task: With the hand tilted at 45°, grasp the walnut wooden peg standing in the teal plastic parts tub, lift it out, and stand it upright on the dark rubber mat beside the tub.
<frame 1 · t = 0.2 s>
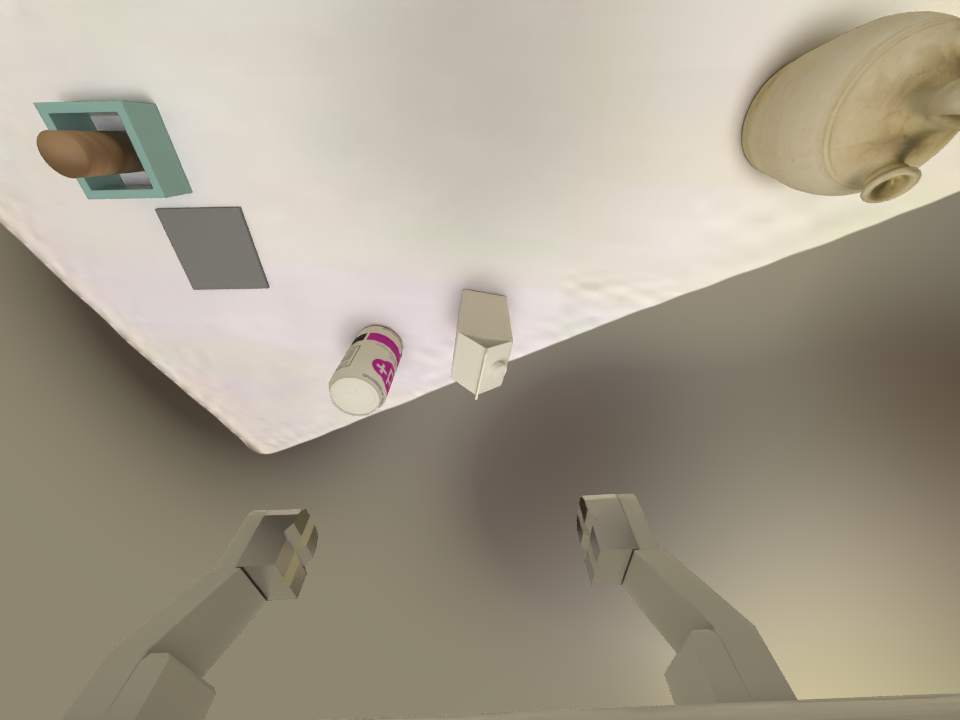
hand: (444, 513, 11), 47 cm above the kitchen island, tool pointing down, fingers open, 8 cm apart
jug: (791, 118, 45), on the kitchen island
walnut peg: (103, 153, 42), in the tub
milk carton: (480, 311, 59), on the kitchen island
tub: (137, 151, 46), on the kitchen island
supplement can: (380, 344, 62), on the kitchen island
mat: (216, 250, 53), on the kitchen island
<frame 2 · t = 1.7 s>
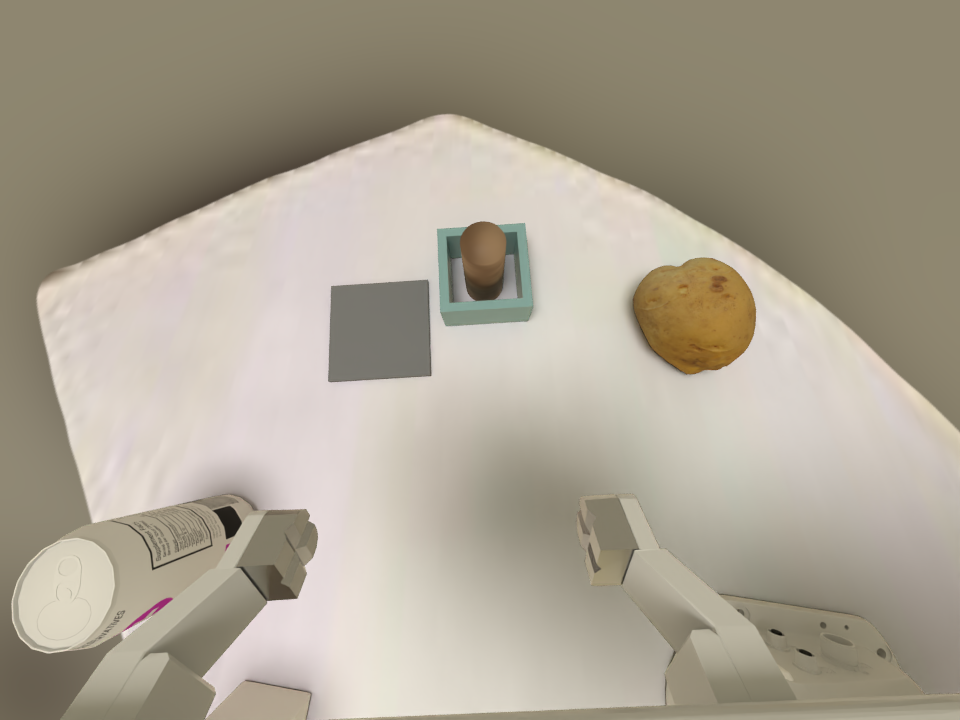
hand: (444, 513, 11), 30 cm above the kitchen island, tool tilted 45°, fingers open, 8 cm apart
walnut peg: (483, 266, 39), in the tub
tub: (484, 285, 44), on the kitchen island
supplement can: (227, 532, 39), on the kitchen island
mat: (380, 330, 43), on the kitchen island
potato: (670, 328, 42), on the kitchen island
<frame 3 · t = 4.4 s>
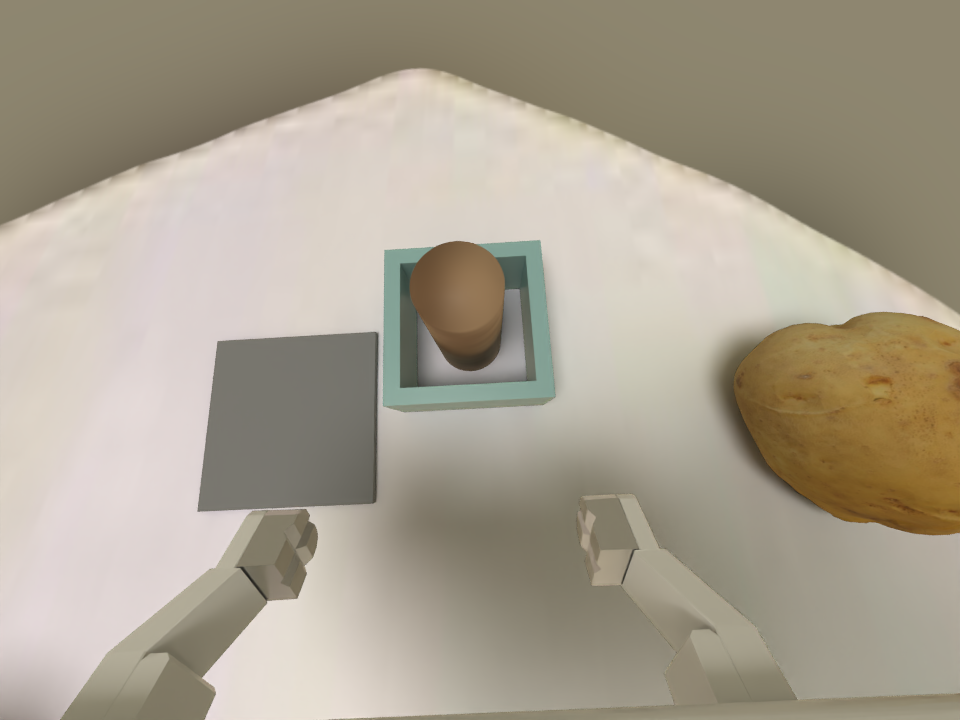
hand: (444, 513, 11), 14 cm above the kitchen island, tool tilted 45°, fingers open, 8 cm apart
walnut peg: (465, 319, 21), in the tub
tub: (470, 341, 26), on the kitchen island
mat: (294, 418, 25), on the kitchen island
potato: (789, 421, 24), on the kitchen island
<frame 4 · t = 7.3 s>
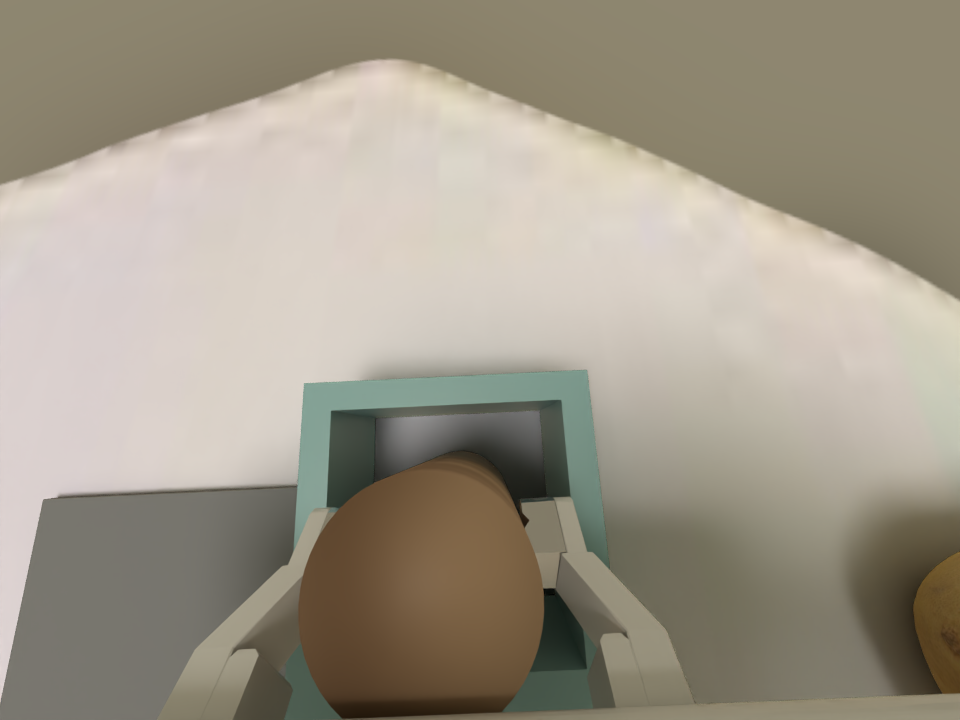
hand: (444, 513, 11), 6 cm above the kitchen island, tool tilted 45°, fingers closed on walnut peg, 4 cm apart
walnut peg: (448, 529, 11), in the tub, touching gripper
tub: (460, 501, 16), on the kitchen island
mat: (163, 638, 15), on the kitchen island
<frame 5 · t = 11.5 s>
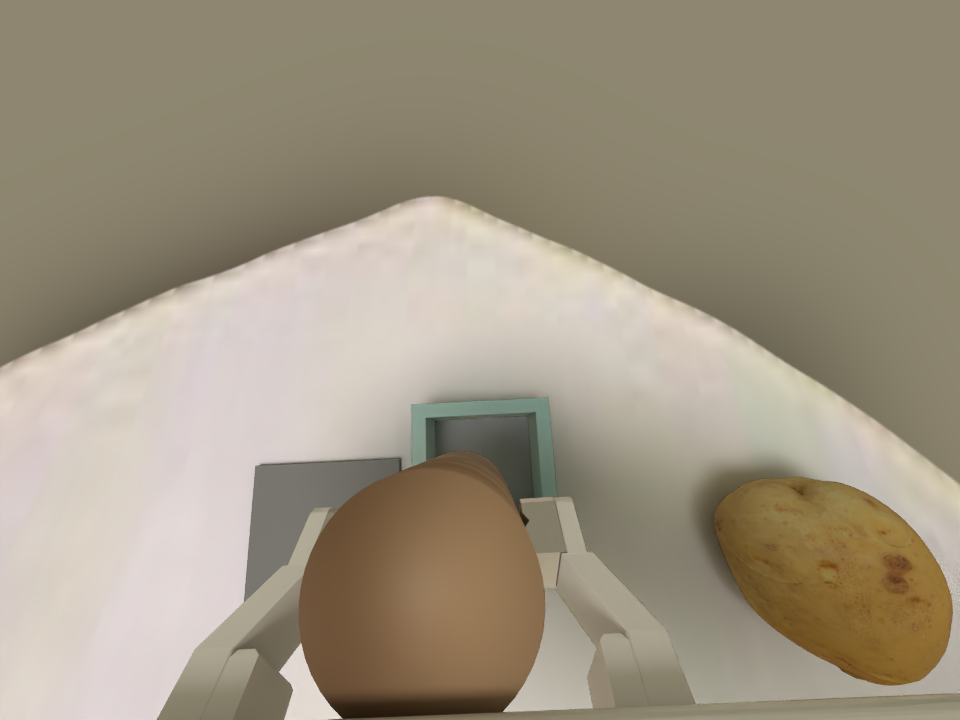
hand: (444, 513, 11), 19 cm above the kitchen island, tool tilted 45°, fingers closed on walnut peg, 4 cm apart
walnut peg: (449, 528, 11), point 18 cm above the kitchen island, touching gripper
tub: (483, 466, 29), on the kitchen island
mat: (326, 538, 28), on the kitchen island
potato: (762, 543, 28), on the kitchen island
when the fingers open (8 cm above the kitchen island, at t = 15.8 s): walnut peg drops 1 cm, resting on mat.
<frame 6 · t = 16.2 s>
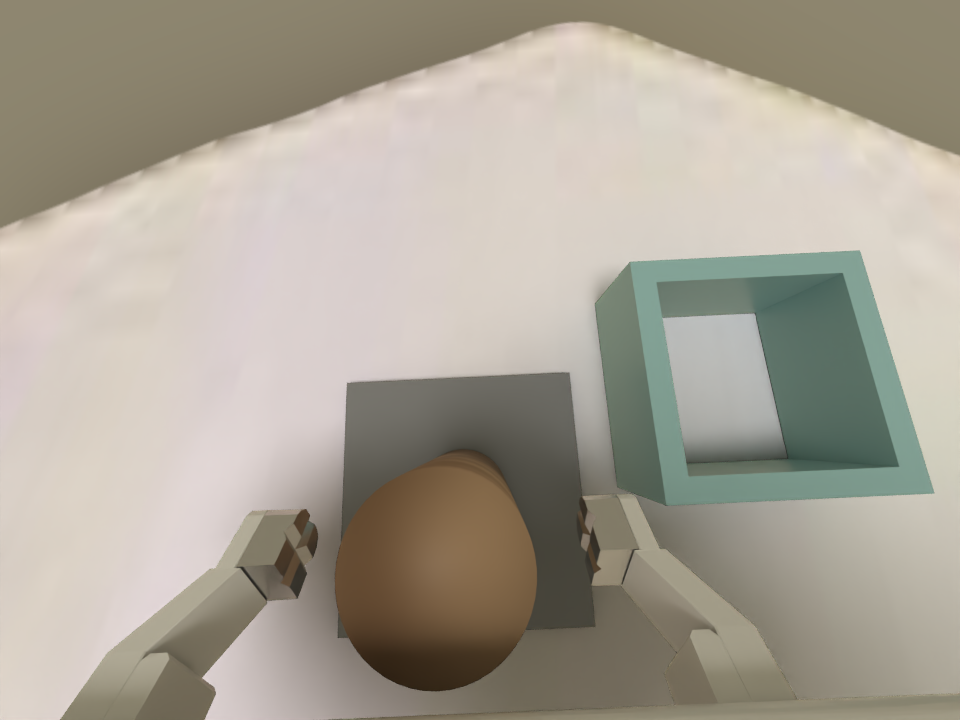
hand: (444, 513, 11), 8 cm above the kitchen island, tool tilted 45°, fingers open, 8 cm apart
walnut peg: (454, 519, 13), on the mat
tub: (697, 386, 19), on the kitchen island
mat: (462, 494, 18), on the kitchen island
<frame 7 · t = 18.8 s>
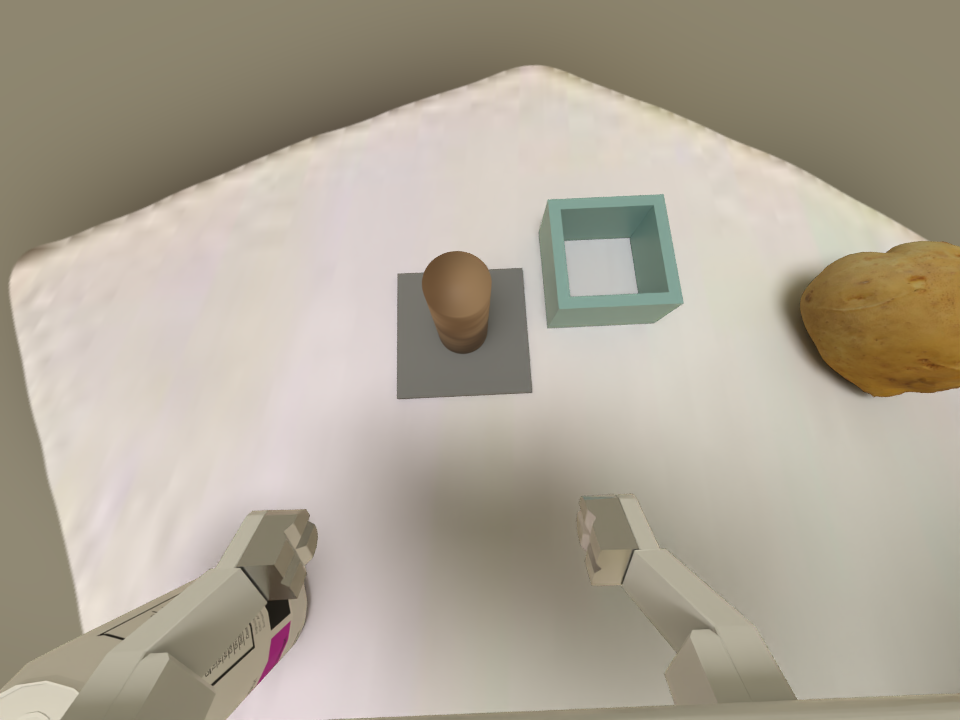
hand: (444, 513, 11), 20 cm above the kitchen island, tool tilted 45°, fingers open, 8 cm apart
walnut peg: (460, 310, 27), on the mat
tub: (594, 276, 34), on the kitchen island
supplement can: (261, 604, 28), on the kitchen island
mat: (462, 332, 33), on the kitchen island
potato: (836, 335, 33), on the kitchen island
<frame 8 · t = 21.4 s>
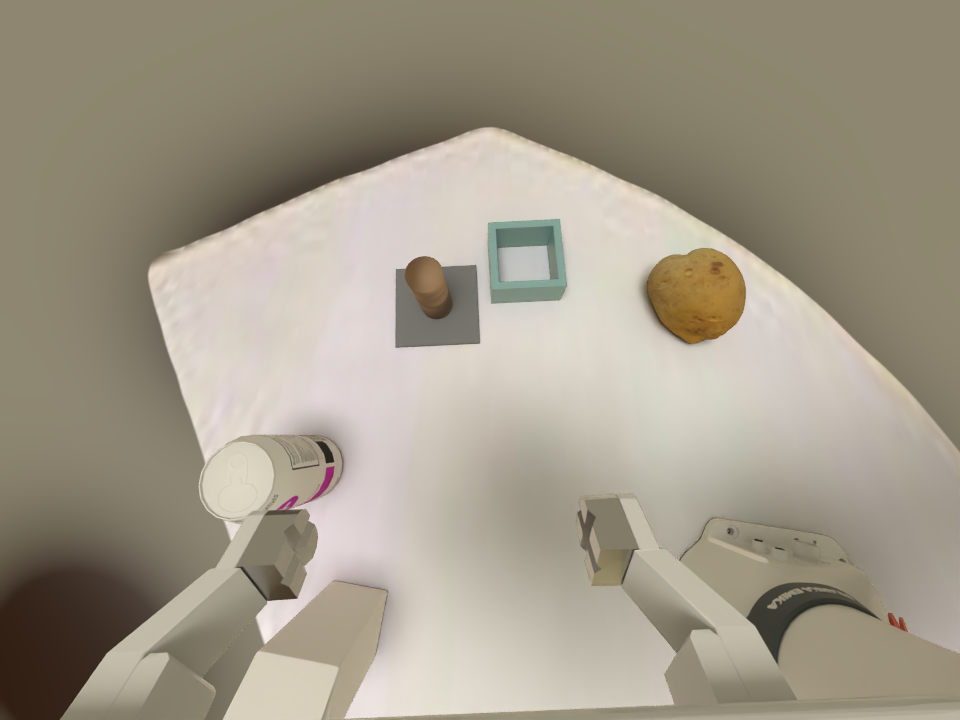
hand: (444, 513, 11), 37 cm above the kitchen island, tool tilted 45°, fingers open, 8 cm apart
walnut peg: (431, 290, 46), on the mat
milk carton: (354, 615, 43), on the kitchen island
tub: (522, 270, 53), on the kitchen island
supplement can: (314, 466, 47), on the kitchen island
mat: (437, 306, 52), on the kitchen island
potato: (676, 307, 51), on the kitchen island
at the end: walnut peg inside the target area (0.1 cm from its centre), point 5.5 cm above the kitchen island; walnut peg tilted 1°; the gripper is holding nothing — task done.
